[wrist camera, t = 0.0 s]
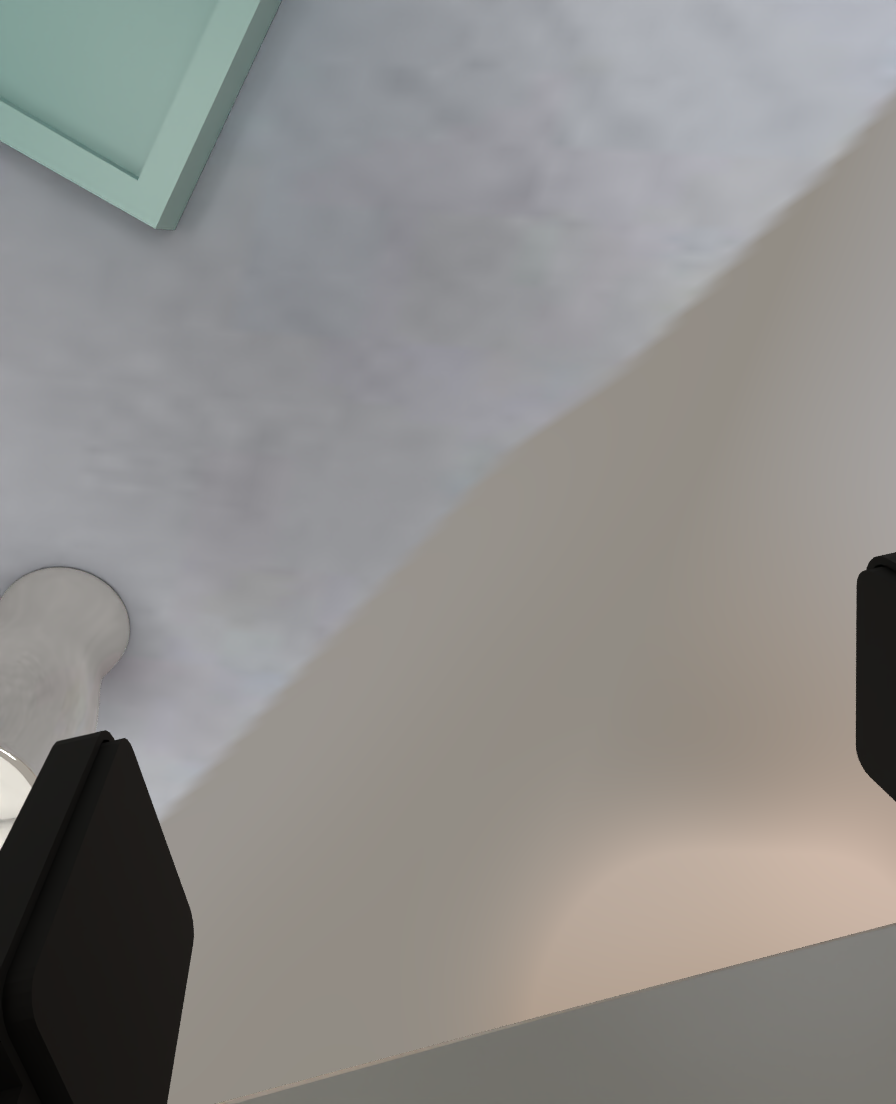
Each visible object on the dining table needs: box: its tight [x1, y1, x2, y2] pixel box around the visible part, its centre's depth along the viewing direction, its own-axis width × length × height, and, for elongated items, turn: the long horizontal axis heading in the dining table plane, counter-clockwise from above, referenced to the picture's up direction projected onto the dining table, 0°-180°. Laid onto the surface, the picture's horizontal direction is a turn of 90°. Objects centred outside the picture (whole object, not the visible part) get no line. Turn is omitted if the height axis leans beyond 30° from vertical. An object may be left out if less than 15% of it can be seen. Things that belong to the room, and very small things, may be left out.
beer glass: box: [0, 567, 130, 850], centre depth 35 cm, size 7×7×15 cm
